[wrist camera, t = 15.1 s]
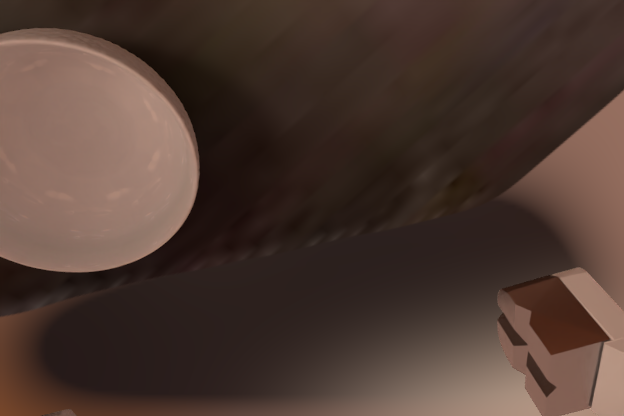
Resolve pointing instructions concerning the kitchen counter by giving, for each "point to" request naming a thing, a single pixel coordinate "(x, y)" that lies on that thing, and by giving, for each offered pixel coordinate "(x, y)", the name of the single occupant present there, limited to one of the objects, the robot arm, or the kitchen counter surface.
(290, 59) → the kitchen counter surface
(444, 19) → the kitchen counter surface
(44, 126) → the cereal bowl
